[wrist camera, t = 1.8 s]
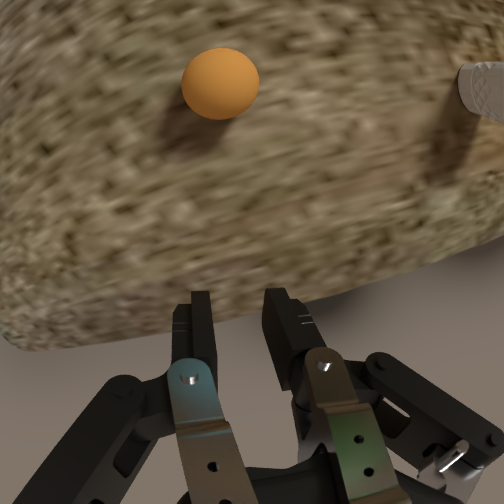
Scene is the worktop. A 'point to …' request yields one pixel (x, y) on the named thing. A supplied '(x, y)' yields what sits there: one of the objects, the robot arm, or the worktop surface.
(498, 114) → the white cup
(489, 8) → the worktop surface
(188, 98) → the ball
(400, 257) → the worktop surface
